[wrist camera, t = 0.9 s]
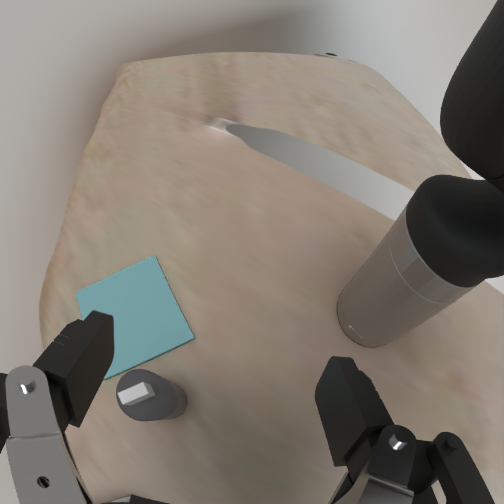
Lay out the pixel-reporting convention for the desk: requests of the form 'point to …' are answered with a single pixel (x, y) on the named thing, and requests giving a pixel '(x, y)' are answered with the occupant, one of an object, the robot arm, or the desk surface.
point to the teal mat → (137, 314)
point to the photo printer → (123, 499)
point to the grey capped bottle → (149, 396)
